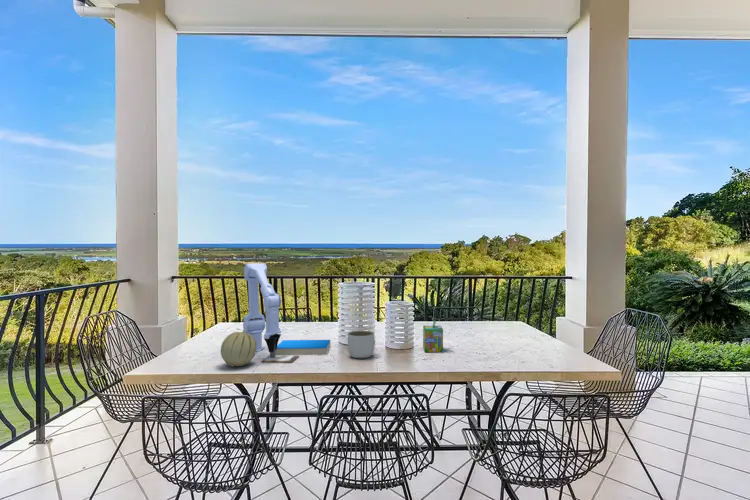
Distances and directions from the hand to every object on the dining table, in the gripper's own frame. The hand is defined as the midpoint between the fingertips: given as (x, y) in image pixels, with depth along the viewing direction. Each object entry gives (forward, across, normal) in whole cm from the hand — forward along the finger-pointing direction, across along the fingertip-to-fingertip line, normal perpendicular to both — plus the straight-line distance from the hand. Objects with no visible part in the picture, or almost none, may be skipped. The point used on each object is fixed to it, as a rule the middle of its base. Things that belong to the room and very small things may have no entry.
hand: (272, 351), depth 175 cm
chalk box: (+4, +23, -74) cm, 77 cm away
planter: (+4, +9, -40) cm, 41 cm away
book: (+4, +17, -10) cm, 20 cm away
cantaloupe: (+4, -10, +11) cm, 16 cm away
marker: (+3, 0, 0) cm, 3 cm away
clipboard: (+4, 0, -4) cm, 5 cm away
